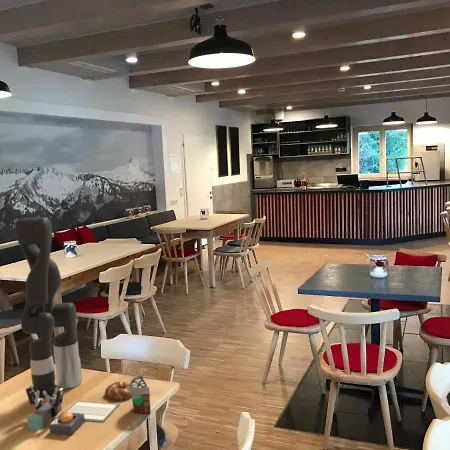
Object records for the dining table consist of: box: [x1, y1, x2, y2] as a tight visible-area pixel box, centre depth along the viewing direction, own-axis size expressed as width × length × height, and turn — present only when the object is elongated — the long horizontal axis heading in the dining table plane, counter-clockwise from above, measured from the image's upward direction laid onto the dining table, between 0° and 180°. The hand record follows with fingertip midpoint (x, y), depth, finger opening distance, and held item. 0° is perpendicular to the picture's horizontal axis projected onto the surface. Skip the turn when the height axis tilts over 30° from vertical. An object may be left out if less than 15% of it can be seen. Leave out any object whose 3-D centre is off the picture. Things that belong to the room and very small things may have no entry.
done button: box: [61, 411, 73, 423], centre depth 162 cm, size 4×4×2 cm
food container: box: [128, 374, 151, 415], centre depth 171 cm, size 12×6×10 cm, turn 21°
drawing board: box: [65, 400, 120, 423], centre depth 172 cm, size 12×17×1 cm
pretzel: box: [104, 381, 132, 401], centre depth 184 cm, size 12×11×4 cm
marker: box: [26, 401, 63, 431], centre depth 168 cm, size 13×4×4 cm, turn 166°
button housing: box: [48, 411, 86, 436], centre depth 162 cm, size 8×8×3 cm
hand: (47, 415), depth 169 cm, fingers open, 5 cm apart
